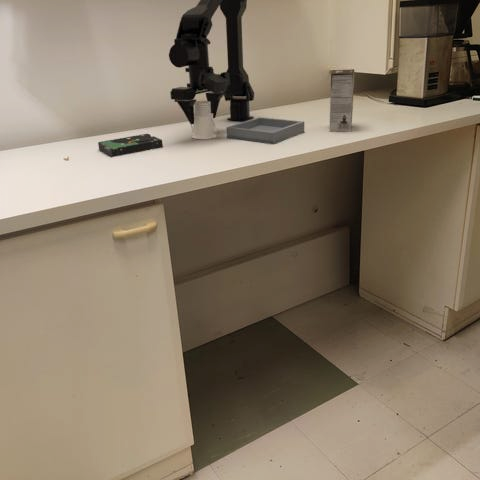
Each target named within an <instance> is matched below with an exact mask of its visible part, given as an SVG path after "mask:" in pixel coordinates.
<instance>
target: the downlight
mask: <svg viewBox="0 0 480 480" xmlns="http://www.w3.org/2000/svg"><path fill="white" fill-rule="evenodd" d="M210 103H211V102H210V101H207V100H196V102H195V104H194V124H190V123H189V125H190V128H191V130H192V134H191V138H192V139H196V140H210V139H215V138H216V137H217V134H218V133H217V131H218V130H217V127H216V122H215V118H213V114H212V113H211V104H210Z"/></svg>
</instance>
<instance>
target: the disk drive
mask: <svg viewBox="0 0 480 480" xmlns="http://www.w3.org/2000/svg"><path fill="white" fill-rule="evenodd" d="M97 145H98V150H99V151H100V152H102V153H103V154H105V155H107V156H109V157H110V158H115V157H119V156H120V157H121V156H124V155H130V154H136V153H142V152H145V151H146V150H147V151H151V149H152V150H158V149H161V148H163V147H164V146H163V139H161V138H159V137H157V136H153V135H152V136H151V134H149V133H143V134H139V135H131V136H125V137H121V138H114V139H109V140H108V139H107V140H104V141H98V142H97Z"/></svg>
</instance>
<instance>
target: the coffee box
mask: <svg viewBox="0 0 480 480" xmlns="http://www.w3.org/2000/svg"><path fill="white" fill-rule="evenodd" d="M330 77H331V78H330V100H329V104H330V105H329V106H330V107H329V132H351V131H352V124H353V123H352V122H353V110H354V91H355V89H354V88H355V68H354V69H353V68H351V69H333V70H331V75H330Z"/></svg>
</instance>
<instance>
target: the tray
mask: <svg viewBox="0 0 480 480" xmlns="http://www.w3.org/2000/svg"><path fill="white" fill-rule="evenodd" d="M303 133H305V121H302V120H290V119H284V118H283V119H282V118H273V117H261V116H259V117H256V118H251V119H248V120H245V121H241V122H239V123H235V124H232V125H229V126H227V127H226V138H227V139H232V140H241V141H247V142H254V143H255V142H256V143H262V144H270V145H274V144H278V143H280V142H283V141H285V140H287V139H290V138H292V137H295V136H297V135H300V134H303Z"/></svg>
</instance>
